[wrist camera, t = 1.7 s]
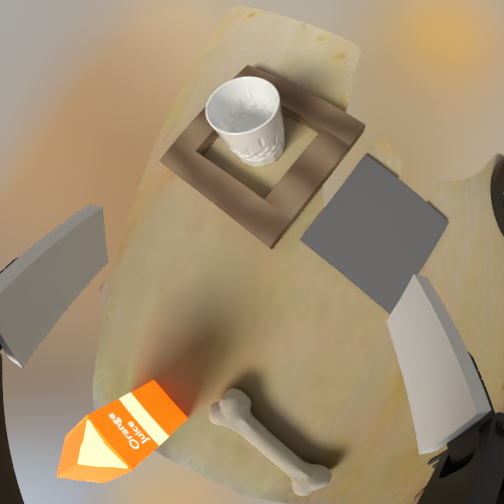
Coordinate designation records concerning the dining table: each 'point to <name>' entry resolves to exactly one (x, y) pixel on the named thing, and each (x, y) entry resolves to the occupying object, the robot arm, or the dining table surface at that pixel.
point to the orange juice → (119, 435)
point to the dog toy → (267, 442)
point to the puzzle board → (291, 184)
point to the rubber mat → (376, 232)
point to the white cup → (248, 119)
